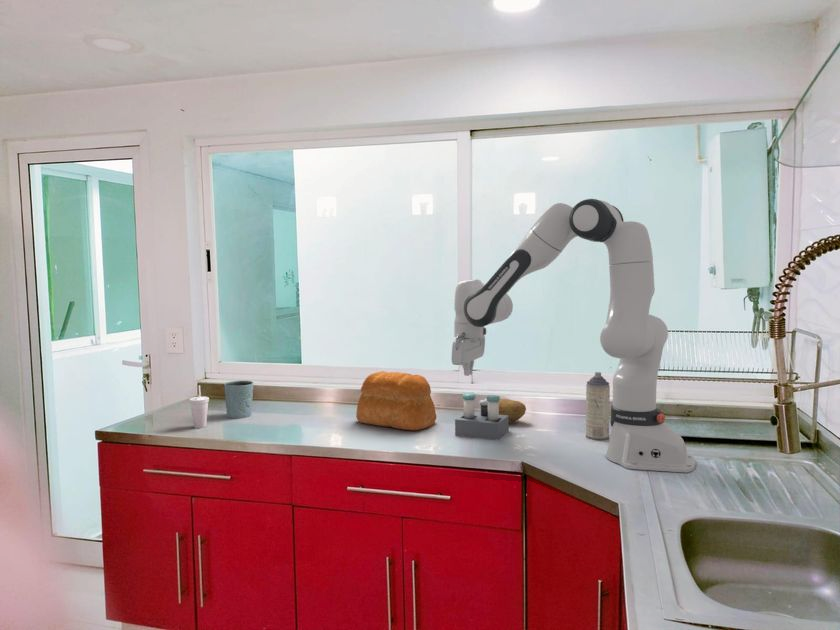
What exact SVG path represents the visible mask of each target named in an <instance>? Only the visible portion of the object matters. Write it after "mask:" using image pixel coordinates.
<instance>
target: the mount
mask: <svg viewBox="0 0 840 630" xmlns="http://www.w3.org/2000/svg"><path fill="white" fill-rule="evenodd" d="M478 404H479V405H480V412H477V411H474V418H464V413H462V414H461V415H459V416H458V417H457V418H455V419H454V434H455V435H454V436H461V437H469V438H475V439H476V438H478V439H484V438H485V439H487V440H493V441H499V440H500V439H501V438H502V437H504V436H505V435H506V434H507V433H508V432H509V431H510V429H509V428H510V427H509V426H510V425H509V423H510V422H509V415H499V420H497V421H490V420H488V401H487V398H485V399H480V400H479V403H478ZM485 439H484V440H485Z"/></svg>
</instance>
